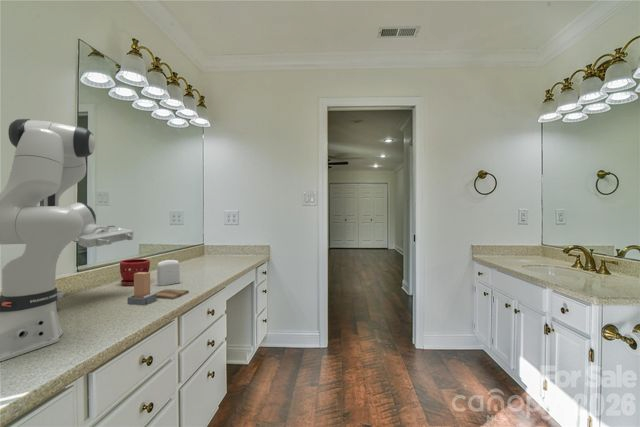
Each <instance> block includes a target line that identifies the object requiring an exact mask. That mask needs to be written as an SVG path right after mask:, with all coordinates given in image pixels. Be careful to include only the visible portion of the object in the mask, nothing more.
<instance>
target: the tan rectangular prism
mask: <svg viewBox="0 0 640 427" xmlns="http://www.w3.org/2000/svg"><path fill="white" fill-rule="evenodd" d="M149 294H151V272H138V273H134V285H133V295H134V298H143V297H144V296H146V295H149Z"/></svg>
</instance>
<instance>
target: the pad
mask: <svg viewBox="0 0 640 427" xmlns="http://www.w3.org/2000/svg"><path fill="white" fill-rule="evenodd" d="M156 292H157V294H156V298H157V299H165V300H167V299H168V300H176V299H177V298H180V297H182V296H185V295H186V294H189V292H190V291H189V290H188V289H187V290H186V289H171V288H170V289H169V288H165V289H162V290H160V291H156Z"/></svg>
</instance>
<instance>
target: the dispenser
mask: <svg viewBox="0 0 640 427" xmlns="http://www.w3.org/2000/svg"><path fill="white" fill-rule="evenodd" d="M157 292H158V291H156V292H153V293H150V294H149V295H146V296H144V297H143V298H134V294H133V295H131V296H127V305H137V306H146V305H149V304H152V303H154V302H157V300H158V298H156V294H157Z"/></svg>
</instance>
